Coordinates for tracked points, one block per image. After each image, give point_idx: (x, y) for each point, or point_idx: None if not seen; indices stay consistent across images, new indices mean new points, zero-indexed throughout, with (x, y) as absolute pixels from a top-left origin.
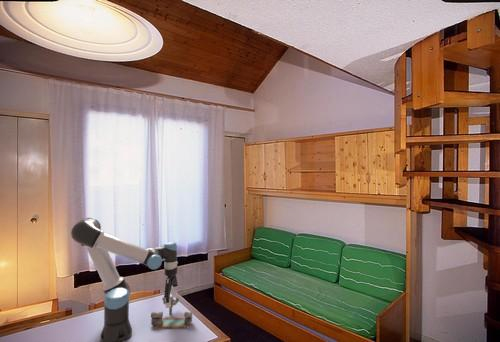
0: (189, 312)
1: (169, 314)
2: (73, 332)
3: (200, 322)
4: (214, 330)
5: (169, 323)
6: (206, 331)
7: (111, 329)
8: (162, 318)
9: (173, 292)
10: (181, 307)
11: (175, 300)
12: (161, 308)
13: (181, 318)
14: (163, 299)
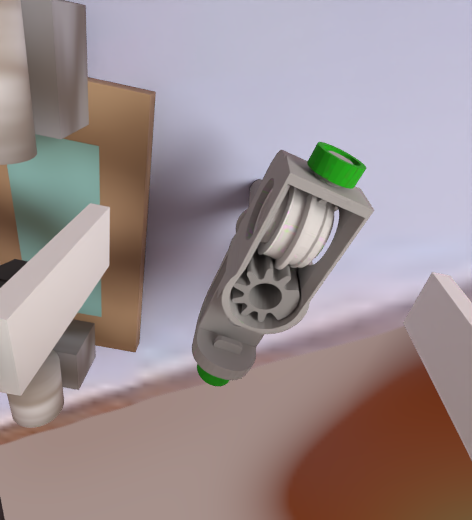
0: (17, 413)
1: (254, 182)
2: None
3: (100, 386)
4: (18, 431)
5: (38, 202)
6: (2, 402)
7: None
8: (140, 119)
9: (456, 344)
10: (370, 283)
11: (195, 348)
12: (451, 66)
13: (130, 293)
14: (284, 171)
